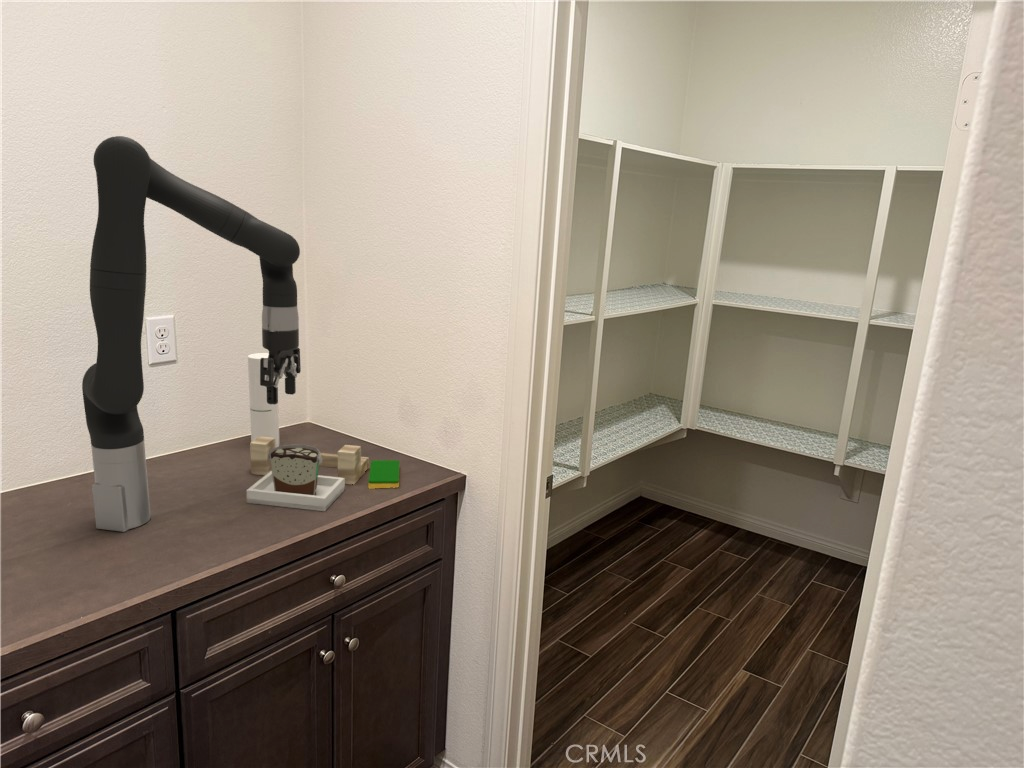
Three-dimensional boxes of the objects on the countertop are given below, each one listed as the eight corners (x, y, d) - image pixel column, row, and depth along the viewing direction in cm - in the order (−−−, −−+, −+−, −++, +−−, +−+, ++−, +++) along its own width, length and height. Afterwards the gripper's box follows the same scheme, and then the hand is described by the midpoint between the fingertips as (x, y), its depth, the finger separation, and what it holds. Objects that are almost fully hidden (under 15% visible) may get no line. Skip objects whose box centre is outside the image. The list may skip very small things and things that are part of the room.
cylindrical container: (285, 445, 190) (282, 355, 184) (263, 452, 184) (260, 360, 178) (267, 439, 194) (264, 351, 187) (245, 446, 188) (241, 355, 182)
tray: (324, 511, 152) (324, 498, 151) (247, 502, 154) (246, 490, 153) (344, 489, 163) (344, 477, 163) (272, 482, 165) (271, 470, 165)
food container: (331, 486, 162) (330, 446, 160) (320, 497, 156) (319, 455, 154) (280, 481, 164) (279, 441, 161) (268, 491, 158) (267, 450, 155)
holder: (354, 484, 167) (353, 453, 165) (251, 473, 170) (250, 443, 168) (368, 468, 177) (368, 438, 175) (271, 458, 180) (270, 429, 178)
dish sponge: (399, 468, 179) (399, 459, 179) (398, 490, 166) (398, 480, 165) (371, 468, 178) (371, 459, 178) (368, 490, 165) (368, 481, 164)
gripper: (279, 320, 157) (280, 389, 161) (247, 329, 143) (249, 405, 147) (311, 323, 156) (311, 392, 160) (281, 333, 142) (282, 409, 146)
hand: (281, 398), depth 153 cm, fingers open, 8 cm apart
